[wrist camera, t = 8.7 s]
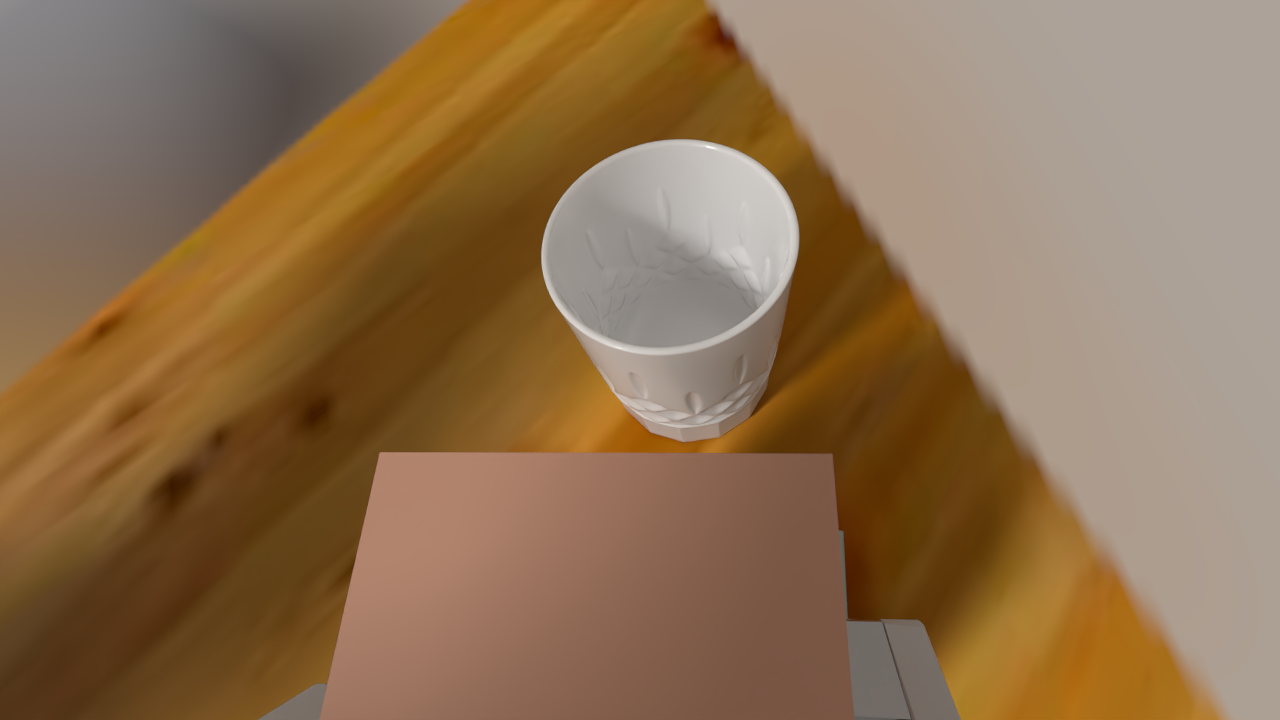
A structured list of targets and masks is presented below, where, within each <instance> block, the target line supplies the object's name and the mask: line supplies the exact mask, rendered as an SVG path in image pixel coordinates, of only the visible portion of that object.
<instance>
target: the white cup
mask: <svg viewBox="0 0 1280 720" xmlns="http://www.w3.org/2000/svg"><path fill="white" fill-rule="evenodd" d="M798 251H799V225H798V220H797V216H796V212H795V209H794V206H793V204H792V201H791V199H790V197H789V195H788V194H787V192H786V190H785V189H784V187H783V186H782V185H781V183H780V182H779V181H778V180H777V178H776V177H775V176H774V175H773V174H772V173H771V172H770V171H769V170H768V169H766V168H765V167H764V166H763V165H761V164H760V163H759V162H757V161H756V160H754V159H753V158H751V157H749V156H748V155H746V154H744V153H742V152H740V151H738V150H735V149H733V148H730V147H727V146H724V145H721V144H717V143H713V142H708V141H701V140H691V139H671V140H661V141H655V142H649V143H645V144H641V145H637V146H634V147H631V148H628V149H625V150H623V151H620V152H618V153H616V154H614V155H612V156H610V157H608V158H606V159H604V160H603V161H601V162H599V163H598V164H596V165H595V166H593V167H592V168H590V169H589V170H588V171H586V172H585V173H584V174H583V175H582V176H580V177H579V178H578V179H577V180H576V181H575V182H574V183H573V184H572V185H571V186H570V187H569V188H568V190H567V191H566V192H565V193H564V195H563V196H562V197H561V199H560V200H559V202H558V203H557V205H556V206H555V208H554V210H553V212H552V214H551V216H550V218H549V221H548V223H547V226H546V229H545V232H544V237H543V242H542V251H541V262H542V271H543V276H544V280H545V283H546V286H547V289H548V291H549V294H550V296H551V298H552V300H553V301H554V303H555V305H556V306H557V308H558V309H559V311H560V312H561V314H562V316H563V317H564V319H565V320H566V322H567V323H568V325H569V326H570V328H571V329H572V331H573V333H574V334H575V336H576V337H577V339H578V341H579V342H580V344H581V345H582V347H583V349H584V350H585V352H586V353H587V355H588V357H589V358H590V360H591V361H592V363H593V364H594V366H595V367H596V369H597V370H598V372H599V373H600V374H601V376H602V377H603V378H604V380H605V382H606V383H607V385H608V386H609V387H610V389H611V390H612V391H613V392H614V394H615V395H616V396H617V397H618V398H619V399H620V401H621V402H622V404H623V406H624V407H625V409H626V410H627V411H628V412H629V413H630V414H631V415H632V416H633V417H634V418H636V419H637V420H638V421H639V422H640V423H641V424H642V425H643V426H644V427H645V428H646V429H647V430H648V431H650V432H651V433H654V434H658V435H661V436H665V437H668V438H671V439H675V440H678V441H681V442H690V441H697V440H703V439H710V438H717V437H721V436H722V435H724V434H725V433H727V432H728V431H730V430H731V429H733V428H734V427H736V426H737V425H739V424H741V423H742V422H744V421H745V420H747V419H748V418H749V417H750V416H751V414H752V412H753V411H754V409H755V407H756V406H757V404H758V402H759V401H760V399H761V397H762V395H763V394H764V392H765V390H766V389H767V384H768V378H769V373H770V371H771V368H772V365H773V363H774V360H775V357H776V352H777V348H778V343H779V340H780V337H781V333H782V329H783V324H784V320H785V315H786V309H787V305H788V300H789V294H790V289H791V285H792V280H793V275H794V271H795V266H796V261H797V257H798Z"/></svg>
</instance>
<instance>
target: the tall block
mask: <svg viewBox="0 0 1280 720" xmlns="http://www.w3.org/2000/svg"><path fill="white" fill-rule="evenodd" d="M319 720H854V710H853V698H852V686H851V673H850V661H849V649H848V637H847V624H846V612H845V600H844V587H843V575H842V563H841V551H840V538H839V526H838V514H837V501H836V489H835V477H834V465H833V454H793V453H459V452H380V453H379V458H378V462H377V467H376V471H375V476H374V480H373V484H372V489H371V493H370V498H369V502H368V507H367V511H366V515H365V520H364V524H363V529H362V533H361V537H360V542H359V546H358V551H357V555H356V560H355V564H354V568H353V573H352V577H351V582H350V586H349V590H348V595H347V599H346V604H345V608H344V613H343V617H342V621H341V626H340V630H339V635H338V639H337V644H336V648H335V652H334V657H333V661H332V666H331V670H330V674H329V679H328V683H327V688H326V692H325V697H324V701H323V705H322V710H321V714H320V719H319Z"/></svg>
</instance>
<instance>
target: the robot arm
mask: <svg viewBox="0 0 1280 720" xmlns="http://www.w3.org/2000/svg"><path fill="white" fill-rule="evenodd" d="M846 624H847V637H848V649H849V661H850V673H851V686H852V698H853V710H854V720H960V717H959V714H958V712H957V709H956V707H955V704H954V701H953V699H952V696H951V694H950V691H949V688H948V686H947V683H946V681H945V678H944V675H943V673H942V670H941V668H940V665H939V662H938V660H937V657H936V655H935V652H934V649H933V647H932V644H931V642H930V639H929V637H928V634H927V631H926V629H925V626H924V625H923V624H922V623H921V622H920V621H919V620H902V619H880V621H879V620H876V619H847V618H846ZM327 683H328V682H327ZM326 688H327V684H317V683H316V684H315V685H313V686H311V687H310V688H308V689H307V690H305V691H303V692H302V693H300V694H298V695H297V696H295V697H294V698H292V699H290V700H289V701H287V702H285V703H284V704H282V705H281V706H279V707H277V708H276V709H274V710H272V711H271V712H269V713H268V714H266V715H264V716H263V717H261V718H259V719H258V720H319V719H320V714H321V710H322V705H323V701H324V697H325V692H326Z"/></svg>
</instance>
